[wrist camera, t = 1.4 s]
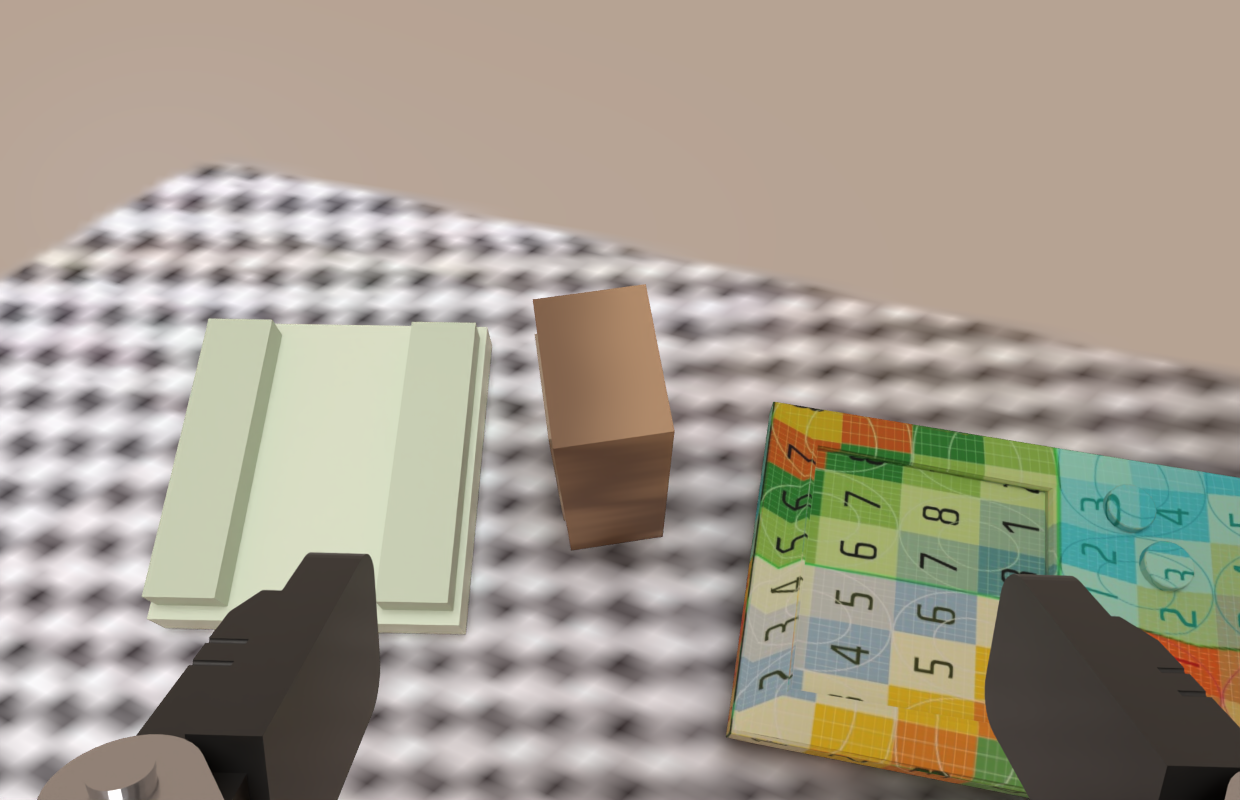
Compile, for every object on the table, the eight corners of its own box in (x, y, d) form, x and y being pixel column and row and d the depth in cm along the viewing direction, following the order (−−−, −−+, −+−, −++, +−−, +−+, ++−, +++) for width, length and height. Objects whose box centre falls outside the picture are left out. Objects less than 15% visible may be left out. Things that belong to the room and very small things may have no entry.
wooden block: (641, 418, 38) (645, 284, 29) (662, 536, 36) (674, 431, 27) (552, 431, 38) (529, 299, 29) (568, 550, 36) (549, 449, 27)
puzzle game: (1424, 867, 27) (732, 730, 29) (1315, 864, 31) (718, 745, 33) (1365, 488, 32) (777, 390, 34) (1278, 530, 36) (760, 441, 38)
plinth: (492, 345, 40) (483, 311, 37) (465, 634, 34) (453, 617, 32) (230, 341, 40) (205, 307, 37) (165, 627, 35) (130, 611, 32)
